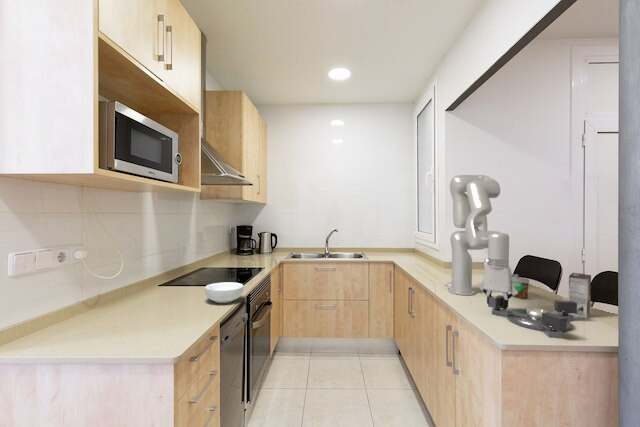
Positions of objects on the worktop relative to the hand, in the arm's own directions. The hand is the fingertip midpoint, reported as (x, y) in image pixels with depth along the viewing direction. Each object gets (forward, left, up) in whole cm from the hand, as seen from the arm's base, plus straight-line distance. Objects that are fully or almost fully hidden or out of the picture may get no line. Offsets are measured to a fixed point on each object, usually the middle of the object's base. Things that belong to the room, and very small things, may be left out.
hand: (497, 306), depth 136 cm
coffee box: (+24, +25, -3) cm, 35 cm away
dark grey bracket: (0, 0, 0) cm, 0 cm away
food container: (-2, +37, -3) cm, 37 cm away
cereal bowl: (-94, -70, -3) cm, 117 cm away
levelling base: (+12, 0, -3) cm, 12 cm away
